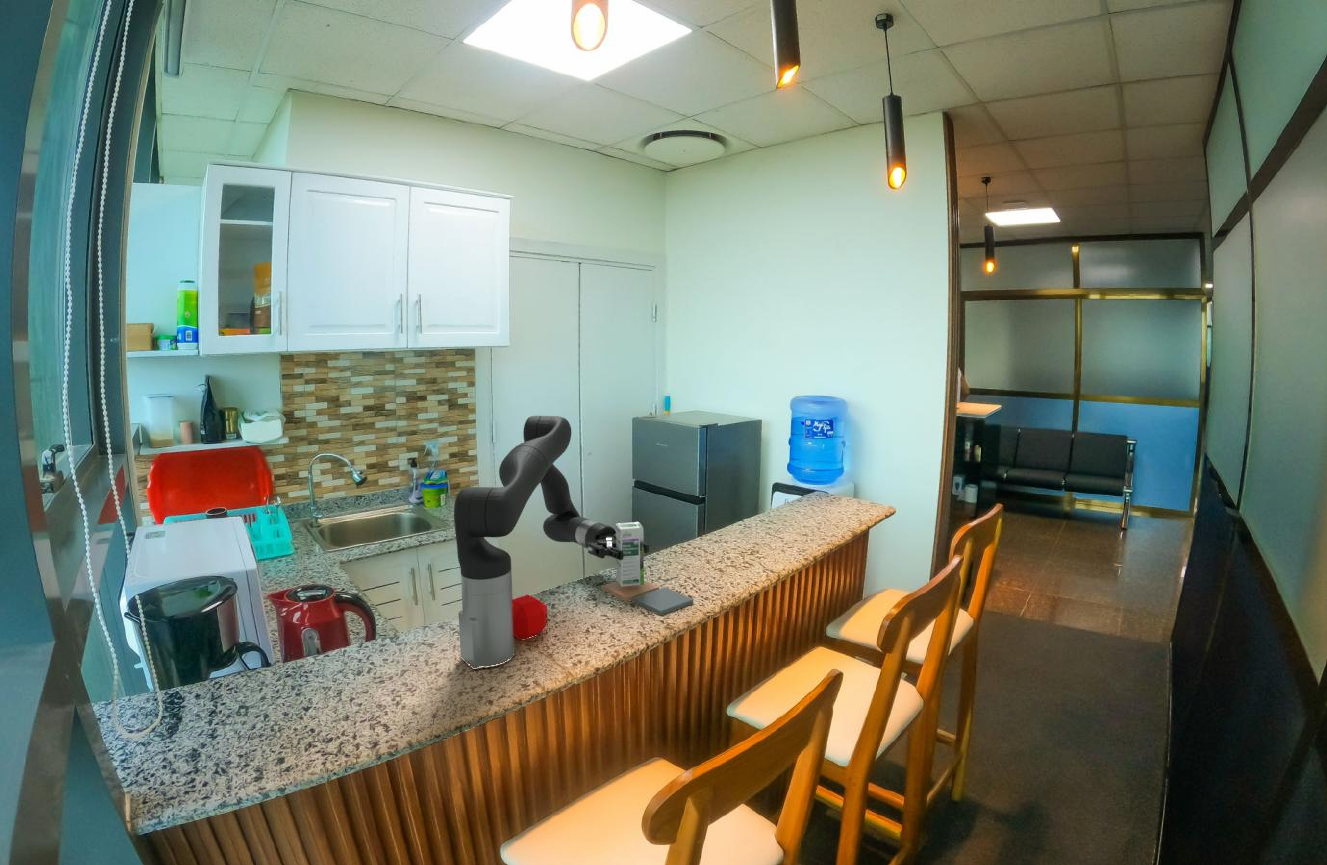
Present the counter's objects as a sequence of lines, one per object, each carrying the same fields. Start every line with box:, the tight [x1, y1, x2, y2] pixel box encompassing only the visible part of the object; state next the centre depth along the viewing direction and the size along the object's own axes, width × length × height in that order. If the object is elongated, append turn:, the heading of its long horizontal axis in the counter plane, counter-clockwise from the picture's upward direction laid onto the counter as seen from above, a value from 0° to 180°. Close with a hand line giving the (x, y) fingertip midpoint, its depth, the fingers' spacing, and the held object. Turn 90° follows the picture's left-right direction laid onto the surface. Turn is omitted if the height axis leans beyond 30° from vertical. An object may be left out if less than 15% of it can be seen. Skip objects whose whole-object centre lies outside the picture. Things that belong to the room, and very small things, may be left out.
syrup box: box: [615, 521, 645, 587], centre depth 152 cm, size 6×6×14 cm
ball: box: [512, 594, 549, 640], centre depth 129 cm, size 8×8×8 cm
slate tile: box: [632, 586, 694, 616], centre depth 145 cm, size 10×10×1 cm
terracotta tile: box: [601, 580, 660, 603], centre depth 153 cm, size 10×10×1 cm
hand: (635, 552), depth 150 cm, fingers closed on syrup box, 7 cm apart
